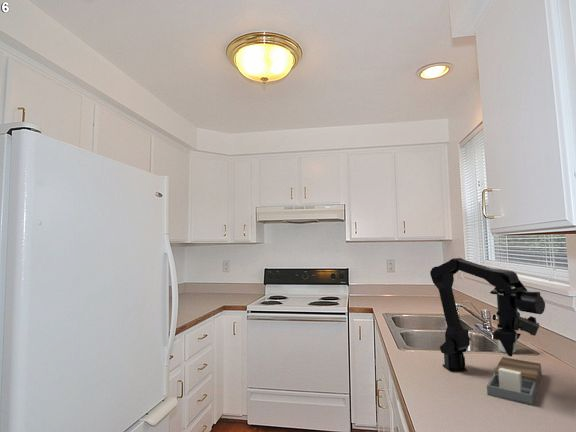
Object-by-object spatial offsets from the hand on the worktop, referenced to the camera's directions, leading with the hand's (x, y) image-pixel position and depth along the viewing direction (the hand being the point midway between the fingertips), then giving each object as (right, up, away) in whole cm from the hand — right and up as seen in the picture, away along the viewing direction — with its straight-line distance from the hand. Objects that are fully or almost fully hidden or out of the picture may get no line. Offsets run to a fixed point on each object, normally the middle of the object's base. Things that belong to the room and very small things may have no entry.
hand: (510, 356), depth 118 cm
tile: (0, -7, -1) cm, 8 cm away
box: (-1, -11, -3) cm, 11 cm away
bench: (+8, -11, +8) cm, 16 cm away
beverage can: (+21, -12, +35) cm, 43 cm away
